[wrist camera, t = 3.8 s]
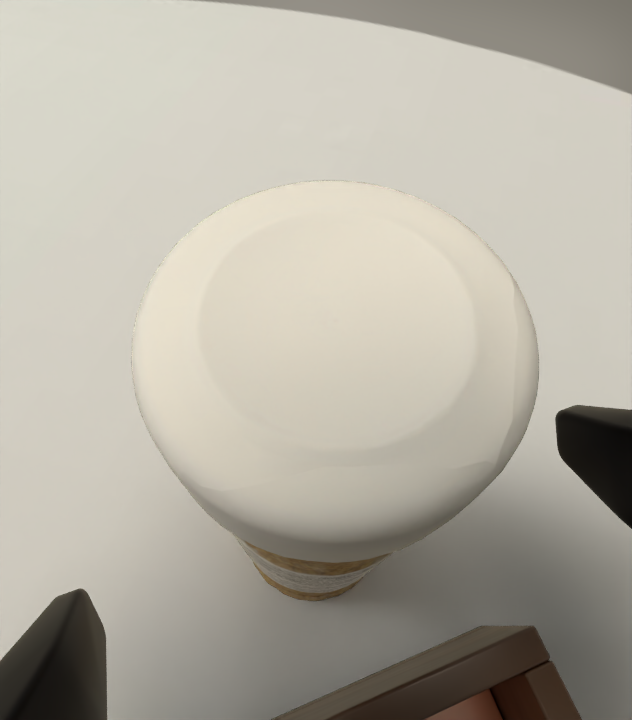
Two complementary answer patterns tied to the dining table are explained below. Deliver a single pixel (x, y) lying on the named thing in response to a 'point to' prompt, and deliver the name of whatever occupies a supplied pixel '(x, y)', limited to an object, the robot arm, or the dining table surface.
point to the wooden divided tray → (457, 684)
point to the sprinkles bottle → (333, 374)
